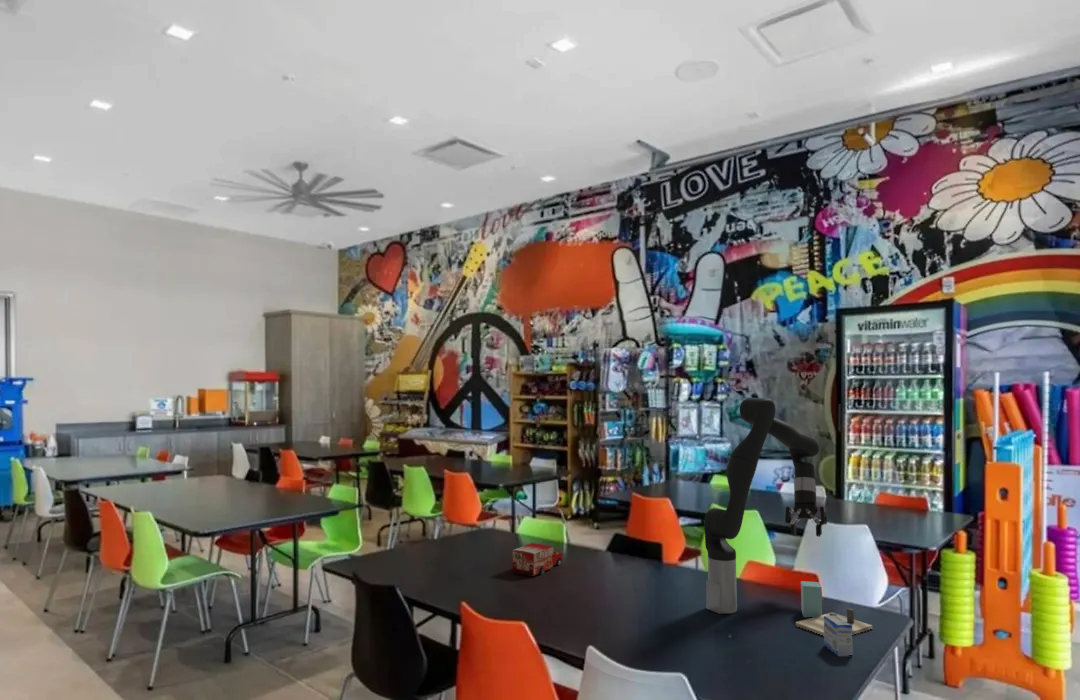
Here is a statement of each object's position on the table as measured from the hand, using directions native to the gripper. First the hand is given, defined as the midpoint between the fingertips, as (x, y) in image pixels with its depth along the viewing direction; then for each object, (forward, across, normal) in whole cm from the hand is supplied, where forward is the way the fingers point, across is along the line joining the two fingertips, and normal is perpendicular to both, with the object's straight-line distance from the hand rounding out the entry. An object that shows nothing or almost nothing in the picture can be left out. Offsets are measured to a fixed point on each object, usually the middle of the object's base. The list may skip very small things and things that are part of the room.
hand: (806, 536), depth 241 cm
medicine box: (+38, +21, -36) cm, 56 cm away
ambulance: (+21, -97, -32) cm, 105 cm away
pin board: (+31, +15, -19) cm, 39 cm away
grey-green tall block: (+27, +6, -12) cm, 31 cm away
